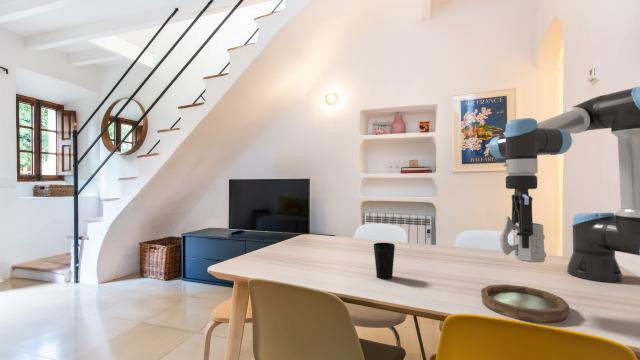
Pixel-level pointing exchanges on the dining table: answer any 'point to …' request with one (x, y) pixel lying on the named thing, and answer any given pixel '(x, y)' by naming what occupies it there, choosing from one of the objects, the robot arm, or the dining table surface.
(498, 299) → the tray
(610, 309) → the dining table surface
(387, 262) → the cup
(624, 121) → the robot arm
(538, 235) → the mug
